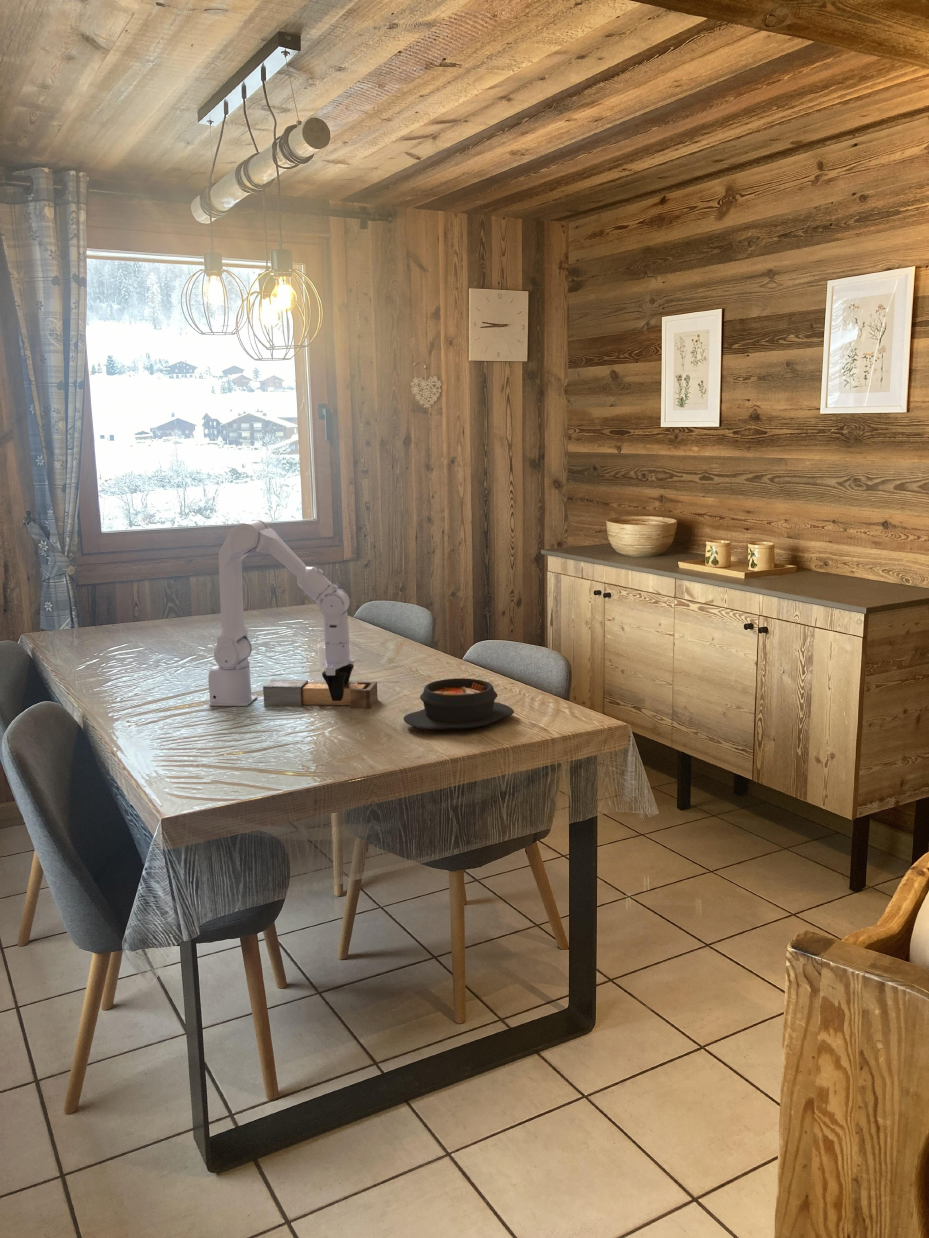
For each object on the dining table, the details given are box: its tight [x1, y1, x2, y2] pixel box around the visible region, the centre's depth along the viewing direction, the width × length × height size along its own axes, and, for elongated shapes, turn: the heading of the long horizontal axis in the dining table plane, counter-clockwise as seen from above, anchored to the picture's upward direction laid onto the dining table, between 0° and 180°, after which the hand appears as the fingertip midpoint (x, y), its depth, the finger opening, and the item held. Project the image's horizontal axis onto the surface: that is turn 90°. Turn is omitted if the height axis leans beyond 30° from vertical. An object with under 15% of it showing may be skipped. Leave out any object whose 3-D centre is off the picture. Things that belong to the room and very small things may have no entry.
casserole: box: [403, 677, 515, 731], centre depth 214 cm, size 25×19×8 cm
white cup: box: [316, 641, 327, 684], centre depth 252 cm, size 8×8×10 cm
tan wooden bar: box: [301, 683, 366, 706], centre depth 232 cm, size 16×4×4 cm, turn 83°
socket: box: [350, 680, 379, 710], centre depth 231 cm, size 5×8×4 cm, turn 173°
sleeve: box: [262, 679, 309, 708], centre depth 234 cm, size 9×7×5 cm
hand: (339, 697), depth 232 cm, fingers open, 4 cm apart
